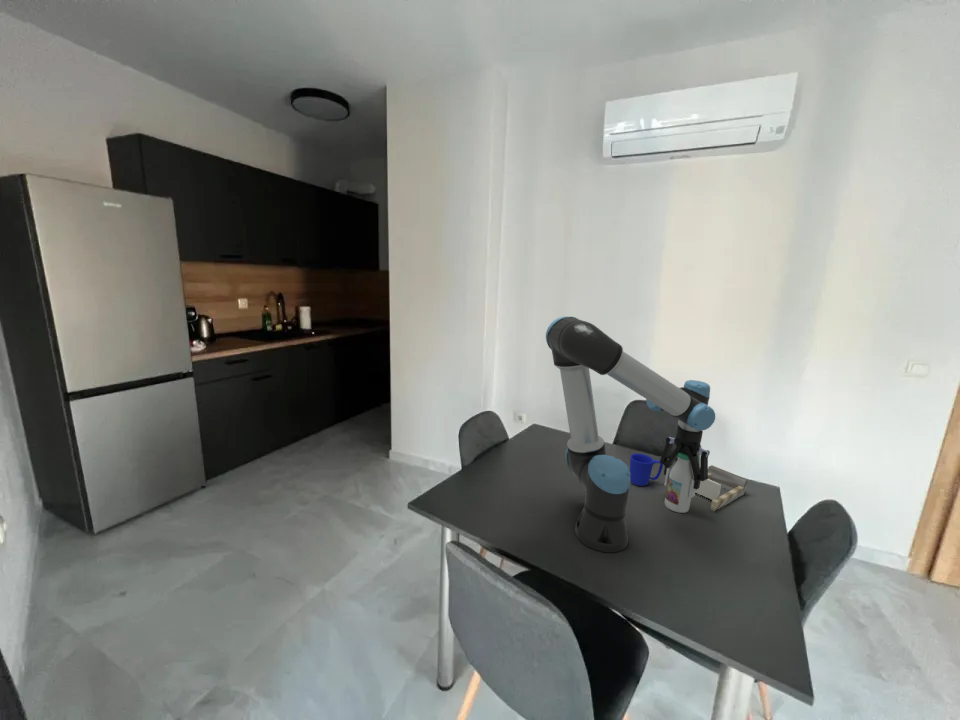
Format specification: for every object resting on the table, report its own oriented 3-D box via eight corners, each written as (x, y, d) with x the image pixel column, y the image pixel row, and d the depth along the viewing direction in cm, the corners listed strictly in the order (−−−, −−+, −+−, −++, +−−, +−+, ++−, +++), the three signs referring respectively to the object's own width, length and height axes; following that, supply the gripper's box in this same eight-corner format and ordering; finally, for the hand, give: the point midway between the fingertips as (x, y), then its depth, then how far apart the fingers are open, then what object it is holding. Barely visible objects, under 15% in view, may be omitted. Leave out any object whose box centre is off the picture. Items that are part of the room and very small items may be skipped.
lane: (714, 511, 139) (717, 495, 137) (678, 494, 149) (680, 479, 148) (744, 494, 151) (747, 479, 150) (709, 479, 162) (711, 465, 160)
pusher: (716, 503, 143) (720, 485, 142) (691, 491, 150) (695, 474, 149) (722, 500, 146) (725, 482, 144) (697, 489, 152) (700, 471, 151)
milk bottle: (683, 502, 144) (693, 449, 139) (692, 514, 136) (702, 459, 132) (661, 499, 144) (669, 447, 140) (668, 512, 137) (678, 456, 133)
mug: (663, 489, 152) (668, 464, 150) (631, 487, 152) (635, 462, 150) (655, 478, 160) (658, 454, 158) (624, 476, 160) (627, 452, 158)
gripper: (729, 436, 128) (716, 502, 133) (667, 415, 144) (657, 474, 149) (717, 441, 124) (704, 508, 128) (654, 419, 140) (645, 479, 145)
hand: (679, 490), depth 139 cm, fingers open, 8 cm apart
